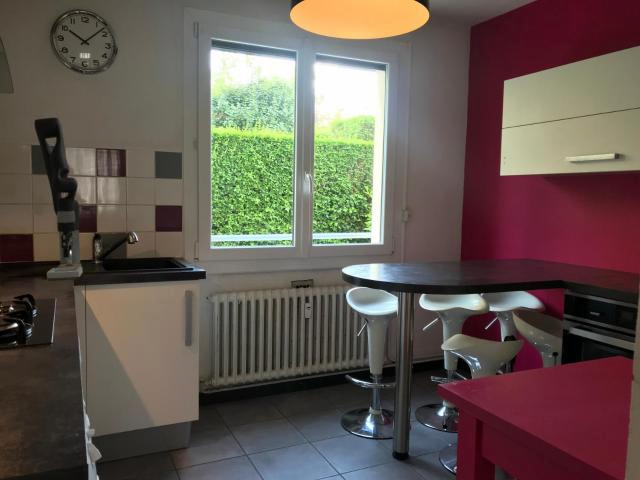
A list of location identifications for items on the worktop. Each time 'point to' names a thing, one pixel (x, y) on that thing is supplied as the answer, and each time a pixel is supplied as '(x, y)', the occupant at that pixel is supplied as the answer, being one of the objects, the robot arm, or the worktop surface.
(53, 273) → the tray
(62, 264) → the pin block
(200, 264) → the worktop surface
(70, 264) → the pin
